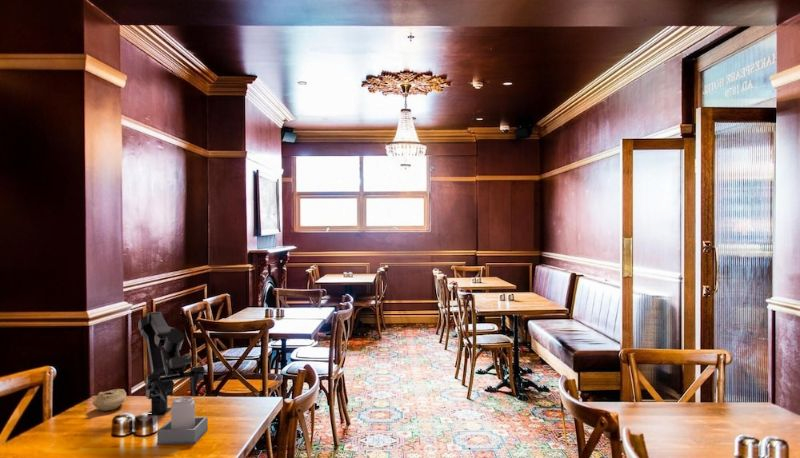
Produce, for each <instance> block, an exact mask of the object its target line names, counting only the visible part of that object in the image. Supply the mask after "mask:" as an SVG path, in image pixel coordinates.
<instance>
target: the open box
mask: <svg viewBox="0 0 800 458" xmlns="http://www.w3.org/2000/svg"><path fill="white" fill-rule="evenodd" d="M208 418H209V417H208V416H195V428H194V429H172V430H171V418H170V419H169V420H167V422H165V423H164V424H163V425H162V426H161V427H160V428H159V429H158V430H157V434H156V435H157V441H156V443H157V445H158V446H160V445H161V446H162V445H163V446H164V445H193V444H196V443H197V442H199V440H200V439H201V438H202V437H203V436H204V435H205V433H206V432H207V431H208V429H209V427H208V423H209V422H208V420H209V419H208Z"/></svg>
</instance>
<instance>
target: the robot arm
mask: <svg viewBox="0 0 800 458" xmlns="http://www.w3.org/2000/svg"><path fill="white" fill-rule="evenodd" d="M162 312H163V311H162ZM162 312H161V311H153V312H152V311H151V312H149V313H147V314H146V315H145V316H142V317H141V318H139V320H138V322H137V323H138V324H137V325H138V330H139V331H140V336H141V337H142V338H143V339H144V340H146V346H147V351H148V357H149V364H150V369H151V370H150V371H151V373H149V374H147V376H146V379H145V381H144V382H145V383H144V385H145V397H146V399H148V400H150V409H151V410H150V411H148V413H152V414H157V415H158V416H160V415H166V414H167V413H168V412H169V411H171V407H168V399H169V397H168V396H173V393H174V385H175V383H174V381H177V380H182V379H188V378H189V379H190V383H189V384H190V387H191V388H190V389H191V392H192V397H193V398H195V397H196V394H197V386H198V383H200V381H202V380H203V379H204V377H205V373H206V369H205V367H204V365H198V366H193V367H192V368H191V369H190V371H186V372H184V371H185V370H186V369H187V368H186V366H187V365H188V364H191V363H192V361H193V359H192V355H191V353H185V354H183V355H182V356H181V354H180V350H181V349H182V345H183V342H184V340H185V334H184V333H183V332H182V331H180V330H178V329H177V327H172V326H169V325H168V323H167V322H166V320H165V318H164V315H163V313H162ZM157 415H156V416H157Z"/></svg>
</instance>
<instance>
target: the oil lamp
mask: <svg viewBox="0 0 800 458" xmlns="http://www.w3.org/2000/svg"><path fill="white" fill-rule="evenodd" d="M126 399H127V392H126V390H125V389H124V388H116V389H111V390H107V391H100V392H98V394H97V396H96V397H95V398H94V400H93V401H92V403H91V404H92V405H93V406H94V407H95V408H96V409H98V410H99V411H103V412H105V411H112V410H116V409H118V408H119V407H120V406H121V405H122V404H123V403H124V402H125V400H126Z"/></svg>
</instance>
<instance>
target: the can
mask: <svg viewBox="0 0 800 458" xmlns="http://www.w3.org/2000/svg"><path fill="white" fill-rule="evenodd" d="M170 408H171V409H170V419H171V430H172V429H194V428H195V417H196V401H195V400H194V396H190V395H188V396H184V395H183V396H179V397H175V398H174V399H173V400H172V403H171V405H170Z"/></svg>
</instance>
